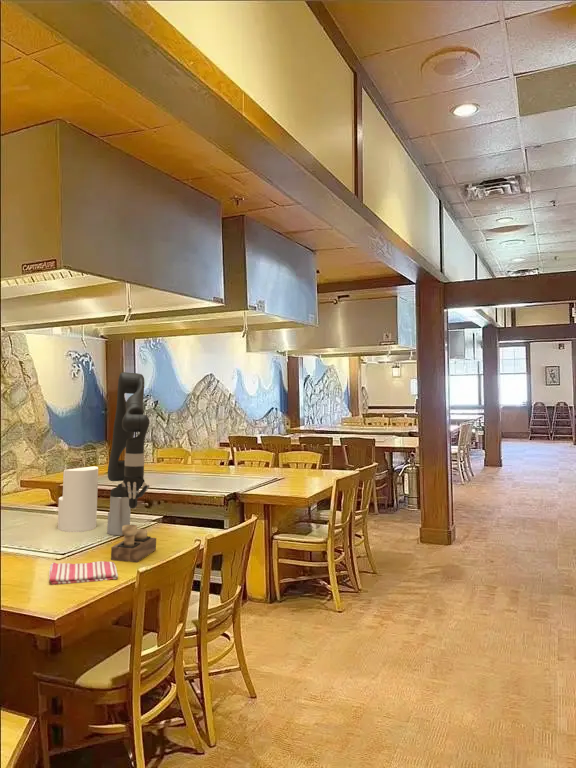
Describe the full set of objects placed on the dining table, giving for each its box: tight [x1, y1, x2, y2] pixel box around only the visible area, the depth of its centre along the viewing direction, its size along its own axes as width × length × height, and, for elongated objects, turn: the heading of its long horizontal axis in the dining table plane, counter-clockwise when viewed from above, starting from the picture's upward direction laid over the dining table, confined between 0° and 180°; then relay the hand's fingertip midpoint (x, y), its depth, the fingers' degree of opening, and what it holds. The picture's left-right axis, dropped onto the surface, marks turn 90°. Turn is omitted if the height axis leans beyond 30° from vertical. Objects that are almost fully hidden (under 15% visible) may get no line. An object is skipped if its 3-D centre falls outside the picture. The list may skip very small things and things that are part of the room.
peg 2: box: [134, 528, 148, 540], centre depth 248 cm, size 6×6×9 cm
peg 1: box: [121, 524, 138, 546], centre depth 239 cm, size 6×6×9 cm
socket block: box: [110, 535, 157, 563], centre depth 244 cm, size 11×18×6 cm, turn 169°
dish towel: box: [48, 560, 119, 585], centre depth 217 cm, size 17×23×4 cm
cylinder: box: [57, 465, 99, 533], centre depth 284 cm, size 17×17×28 cm
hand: (133, 507), depth 239 cm, fingers closed
